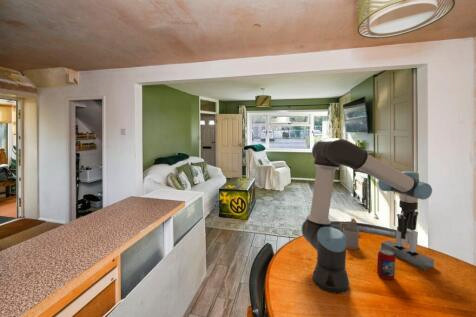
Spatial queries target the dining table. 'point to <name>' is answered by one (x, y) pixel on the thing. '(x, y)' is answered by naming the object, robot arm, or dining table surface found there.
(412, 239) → the upright white panel
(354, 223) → the ruin model on sheet
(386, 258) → the beverage can
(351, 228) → the cup
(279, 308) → the dining table surface
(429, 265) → the block with rectangular holes
